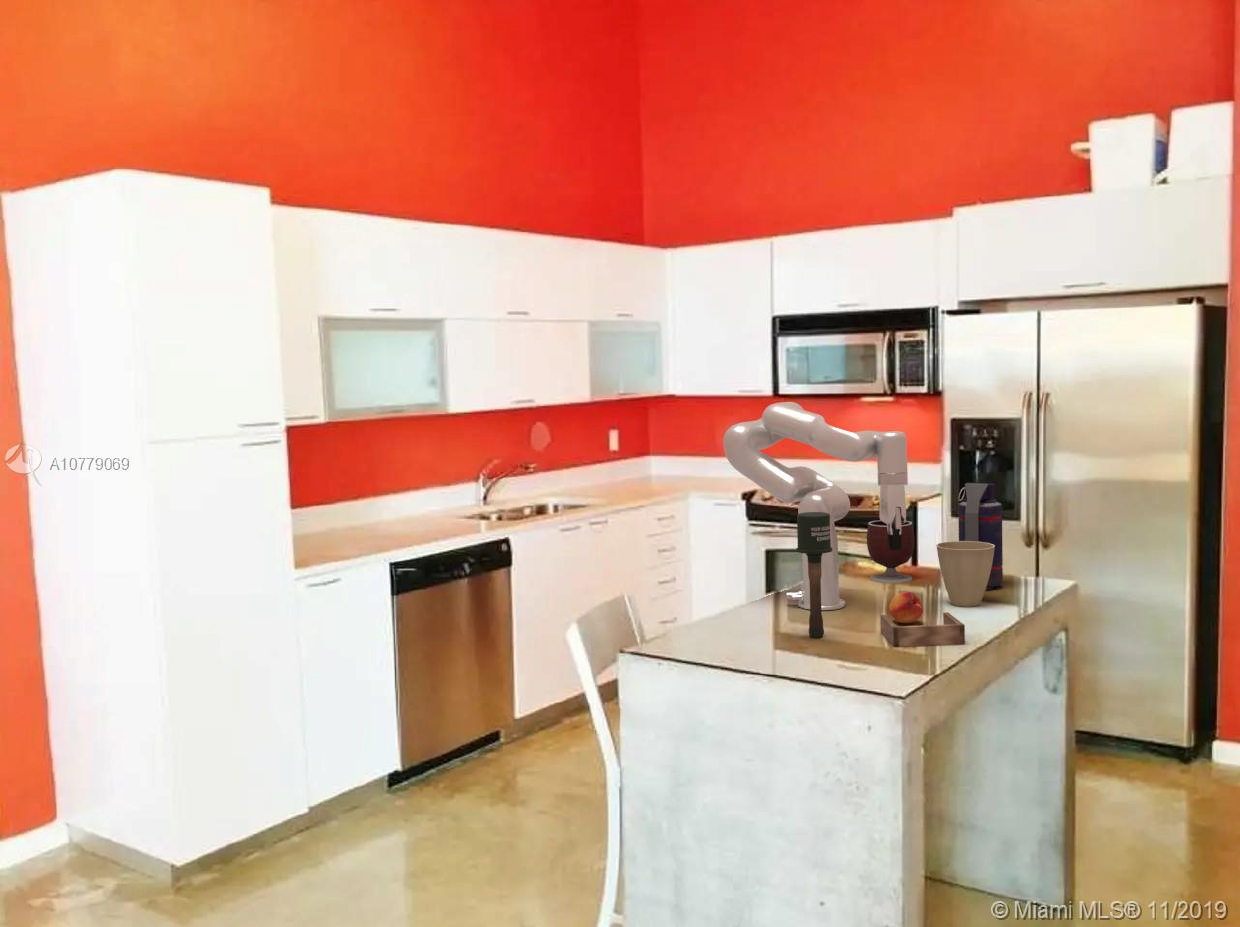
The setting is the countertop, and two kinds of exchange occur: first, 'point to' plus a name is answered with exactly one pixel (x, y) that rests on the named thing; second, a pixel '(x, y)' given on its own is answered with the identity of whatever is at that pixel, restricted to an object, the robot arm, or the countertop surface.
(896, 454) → the robot arm
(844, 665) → the countertop surface
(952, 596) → the plant pot
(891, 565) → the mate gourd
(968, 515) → the smoke canister
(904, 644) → the box
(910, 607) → the fruit
